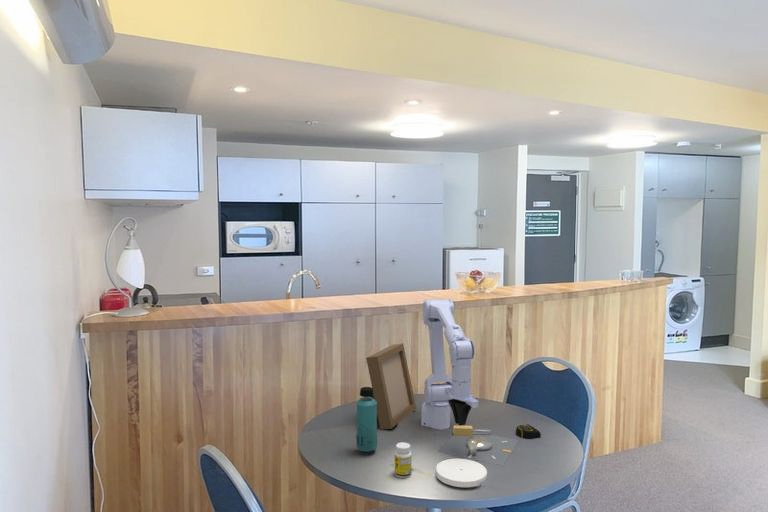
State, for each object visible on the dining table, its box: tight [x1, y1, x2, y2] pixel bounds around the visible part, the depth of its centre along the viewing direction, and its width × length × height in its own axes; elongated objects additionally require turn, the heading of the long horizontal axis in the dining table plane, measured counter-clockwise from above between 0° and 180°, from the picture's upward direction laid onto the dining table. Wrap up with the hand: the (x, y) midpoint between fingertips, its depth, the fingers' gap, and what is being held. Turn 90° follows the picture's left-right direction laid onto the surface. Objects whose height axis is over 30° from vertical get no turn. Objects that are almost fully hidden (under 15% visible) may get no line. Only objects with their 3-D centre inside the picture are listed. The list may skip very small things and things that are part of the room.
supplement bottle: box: [394, 441, 413, 479], centre depth 150 cm, size 5×5×8 cm
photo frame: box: [365, 343, 417, 430], centre depth 193 cm, size 15×22×25 cm
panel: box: [436, 432, 519, 467], centre depth 167 cm, size 20×20×1 cm
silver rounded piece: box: [466, 436, 492, 455], centre depth 165 cm, size 12×8×4 cm, turn 153°
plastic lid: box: [435, 458, 488, 488], centre depth 148 cm, size 14×14×2 cm
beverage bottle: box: [355, 386, 378, 452], centre depth 164 cm, size 6×7×20 cm
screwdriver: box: [452, 425, 492, 436], centre depth 176 cm, size 12×2×2 cm, turn 88°
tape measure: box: [515, 423, 542, 440], centre depth 176 cm, size 7×7×4 cm
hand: (460, 423), depth 163 cm, fingers closed
